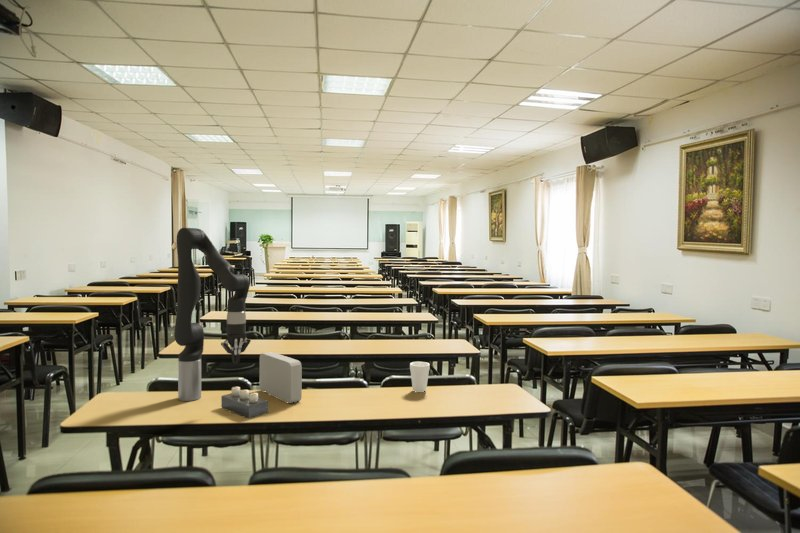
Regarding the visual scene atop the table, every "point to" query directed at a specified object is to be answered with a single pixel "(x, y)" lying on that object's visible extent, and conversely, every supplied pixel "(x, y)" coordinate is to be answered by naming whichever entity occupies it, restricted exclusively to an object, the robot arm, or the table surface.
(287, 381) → the rounded white slab
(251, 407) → the mount
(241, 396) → the knob
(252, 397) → the knob
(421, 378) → the foam cup
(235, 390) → the knob
